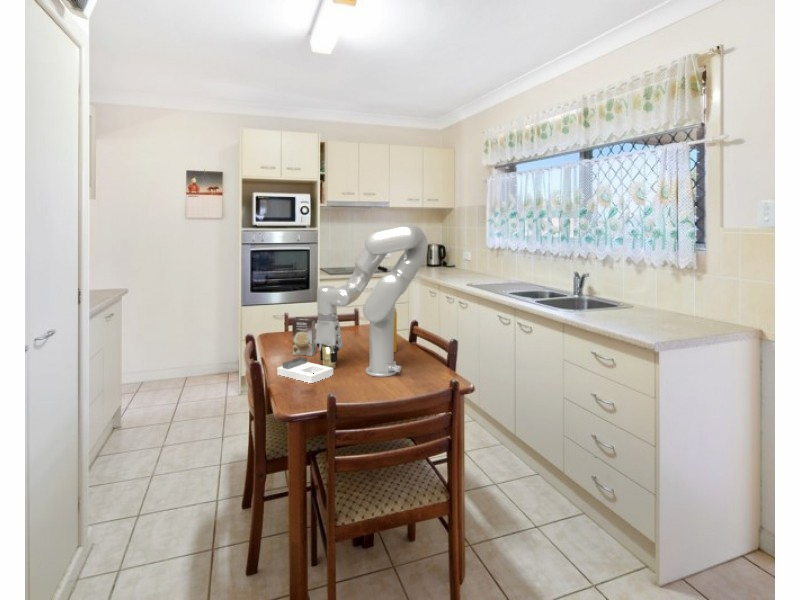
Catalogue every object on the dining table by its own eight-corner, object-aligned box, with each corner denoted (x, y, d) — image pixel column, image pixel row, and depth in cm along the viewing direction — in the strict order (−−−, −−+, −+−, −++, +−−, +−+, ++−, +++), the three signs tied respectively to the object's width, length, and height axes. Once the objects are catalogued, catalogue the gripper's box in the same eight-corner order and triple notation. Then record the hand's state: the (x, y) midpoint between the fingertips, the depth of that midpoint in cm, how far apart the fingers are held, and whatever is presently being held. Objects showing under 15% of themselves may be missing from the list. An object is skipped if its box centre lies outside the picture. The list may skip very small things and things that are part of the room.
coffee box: (292, 355, 212) (291, 320, 210) (296, 351, 219) (295, 316, 216) (312, 356, 212) (311, 320, 209) (316, 352, 218) (315, 317, 215)
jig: (333, 375, 187) (333, 363, 186) (311, 384, 177) (311, 371, 176) (299, 367, 196) (299, 355, 195) (277, 375, 186) (276, 362, 186)
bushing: (337, 366, 196) (337, 345, 195) (329, 370, 192) (328, 348, 191) (328, 364, 199) (327, 343, 198) (320, 368, 195) (319, 346, 193)
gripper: (350, 317, 191) (351, 361, 194) (318, 313, 200) (319, 355, 203) (337, 321, 184) (339, 366, 188) (305, 316, 194) (307, 359, 197)
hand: (328, 360), depth 195 cm, fingers closed on bushing, 5 cm apart
